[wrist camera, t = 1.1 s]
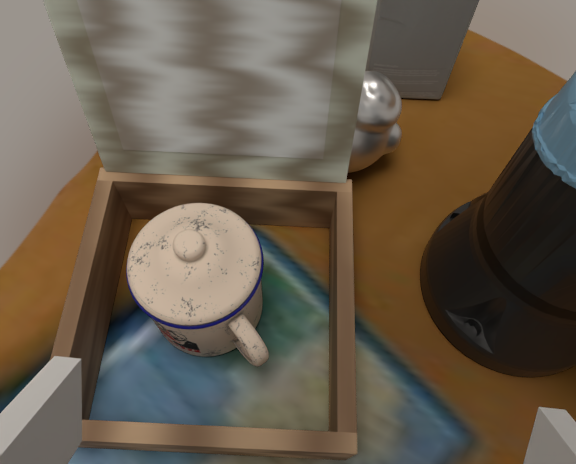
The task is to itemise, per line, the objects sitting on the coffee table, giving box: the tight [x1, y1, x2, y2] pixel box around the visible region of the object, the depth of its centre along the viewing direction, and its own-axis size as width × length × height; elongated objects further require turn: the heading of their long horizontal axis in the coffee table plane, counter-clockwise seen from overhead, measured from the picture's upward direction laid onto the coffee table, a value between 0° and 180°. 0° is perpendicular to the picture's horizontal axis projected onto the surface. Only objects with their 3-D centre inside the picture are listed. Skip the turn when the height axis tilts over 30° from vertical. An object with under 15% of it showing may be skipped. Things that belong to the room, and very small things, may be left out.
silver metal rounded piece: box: [348, 71, 402, 173], centre depth 44 cm, size 9×9×10 cm
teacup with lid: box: [126, 203, 269, 366], centre depth 35 cm, size 12×9×12 cm
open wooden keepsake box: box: [43, 0, 377, 460], centre depth 31 cm, size 20×27×26 cm
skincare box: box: [365, 0, 479, 99], centre depth 46 cm, size 8×7×16 cm
